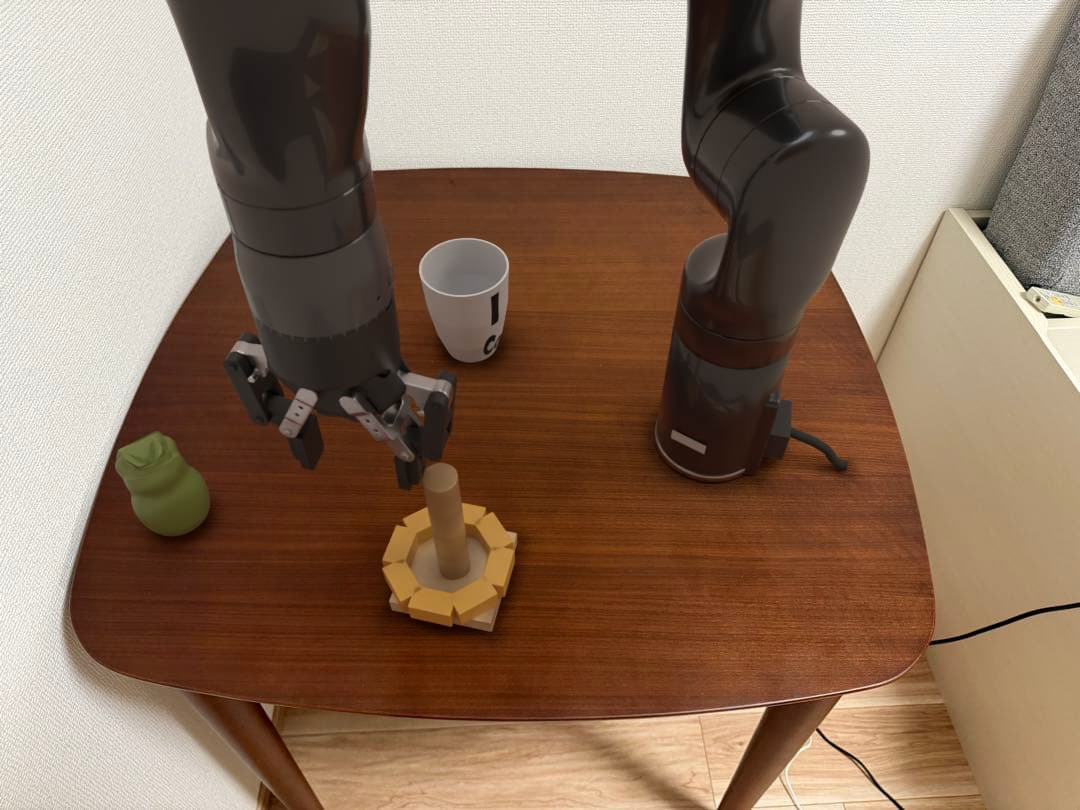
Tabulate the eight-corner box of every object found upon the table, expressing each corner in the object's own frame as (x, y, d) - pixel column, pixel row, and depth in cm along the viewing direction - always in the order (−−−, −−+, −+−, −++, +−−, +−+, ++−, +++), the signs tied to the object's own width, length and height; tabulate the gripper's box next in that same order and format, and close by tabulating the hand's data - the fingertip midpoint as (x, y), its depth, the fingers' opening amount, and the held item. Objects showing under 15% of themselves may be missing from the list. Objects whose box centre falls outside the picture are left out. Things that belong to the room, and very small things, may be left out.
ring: (525, 527, 66) (524, 515, 65) (493, 636, 60) (492, 625, 59) (412, 504, 67) (409, 491, 66) (370, 608, 61) (366, 597, 60)
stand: (517, 542, 67) (512, 441, 57) (491, 632, 62) (481, 539, 51) (424, 523, 68) (402, 421, 58) (391, 610, 63) (361, 515, 53)
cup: (501, 379, 78) (497, 302, 71) (420, 367, 79) (407, 289, 72) (520, 321, 84) (517, 243, 76) (443, 310, 85) (433, 232, 77)
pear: (163, 560, 66) (114, 489, 58) (141, 515, 69) (90, 442, 61) (229, 524, 68) (189, 452, 60) (204, 482, 71) (163, 408, 63)
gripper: (157, 306, 41) (238, 493, 54) (429, 358, 40) (447, 538, 53) (226, 218, 46) (286, 409, 59) (471, 261, 45) (478, 448, 57)
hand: (361, 469), depth 56 cm, fingers open, 6 cm apart
